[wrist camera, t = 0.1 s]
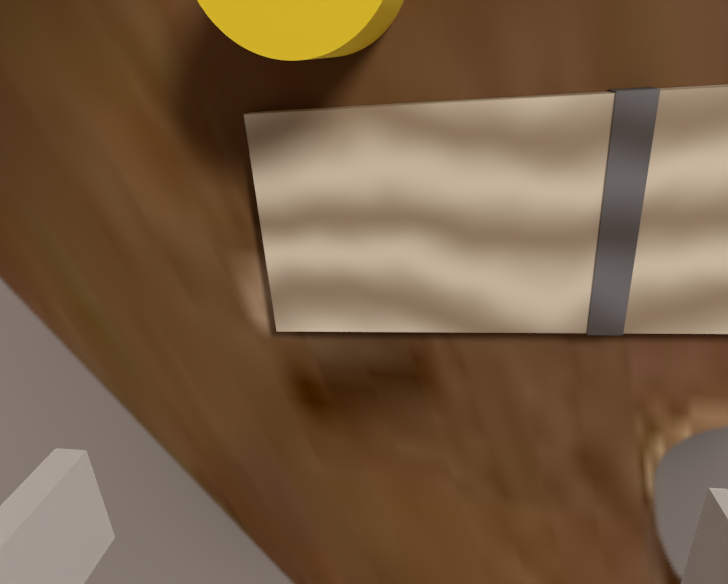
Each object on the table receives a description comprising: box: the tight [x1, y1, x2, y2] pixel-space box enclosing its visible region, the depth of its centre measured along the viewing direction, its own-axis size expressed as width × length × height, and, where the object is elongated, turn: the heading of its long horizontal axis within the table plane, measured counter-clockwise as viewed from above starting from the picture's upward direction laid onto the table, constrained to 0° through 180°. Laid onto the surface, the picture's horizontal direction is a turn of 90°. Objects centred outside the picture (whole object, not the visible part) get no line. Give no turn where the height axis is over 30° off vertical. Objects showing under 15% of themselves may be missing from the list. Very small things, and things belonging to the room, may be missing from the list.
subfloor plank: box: [244, 84, 728, 335], centre depth 36 cm, size 16×34×2 cm, turn 94°
